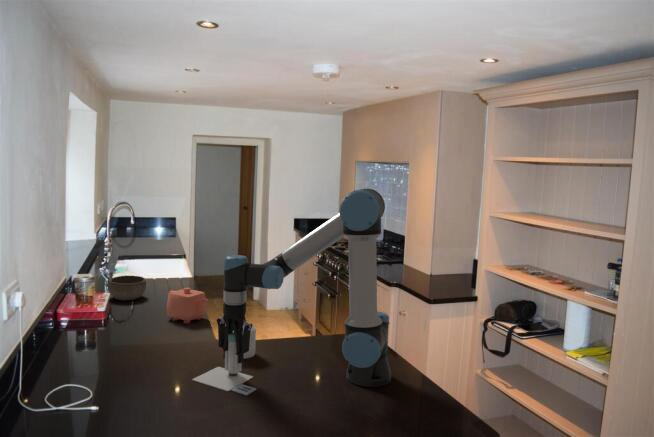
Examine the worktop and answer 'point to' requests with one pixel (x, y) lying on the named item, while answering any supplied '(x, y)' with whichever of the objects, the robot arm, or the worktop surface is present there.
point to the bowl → (127, 287)
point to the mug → (251, 343)
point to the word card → (243, 389)
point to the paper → (222, 379)
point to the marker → (231, 354)
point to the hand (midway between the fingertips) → (233, 370)
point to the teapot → (186, 305)
